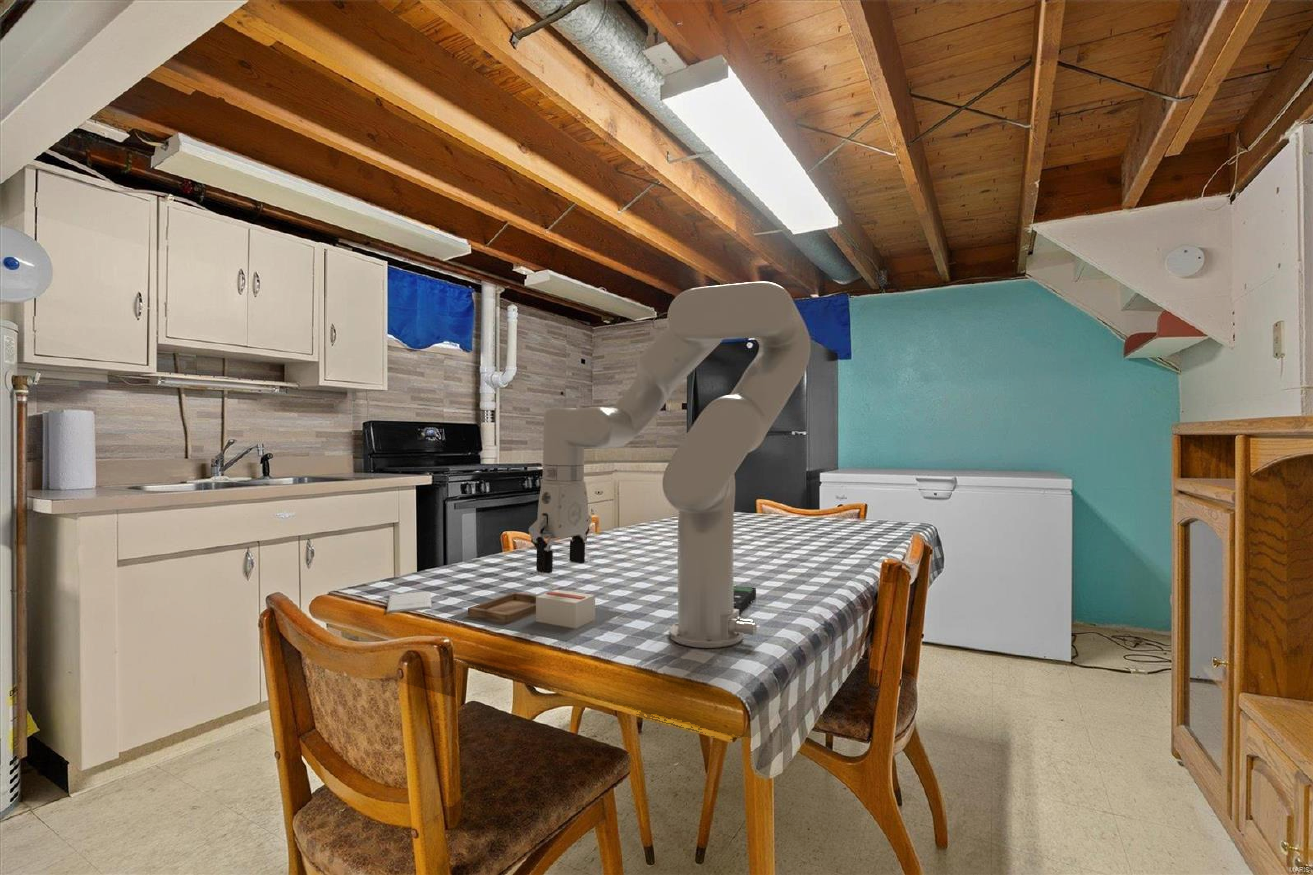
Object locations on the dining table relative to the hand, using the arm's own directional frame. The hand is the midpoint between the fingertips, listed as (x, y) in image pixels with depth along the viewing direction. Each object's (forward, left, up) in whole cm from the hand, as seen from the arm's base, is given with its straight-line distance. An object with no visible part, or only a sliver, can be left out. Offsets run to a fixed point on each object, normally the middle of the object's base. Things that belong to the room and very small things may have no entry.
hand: (561, 567), depth 112 cm
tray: (+12, 0, -10) cm, 16 cm away
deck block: (-1, 0, -10) cm, 10 cm away
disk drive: (-22, -25, -11) cm, 35 cm away
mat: (+6, 0, -10) cm, 12 cm away
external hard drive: (+35, +5, -11) cm, 37 cm away
